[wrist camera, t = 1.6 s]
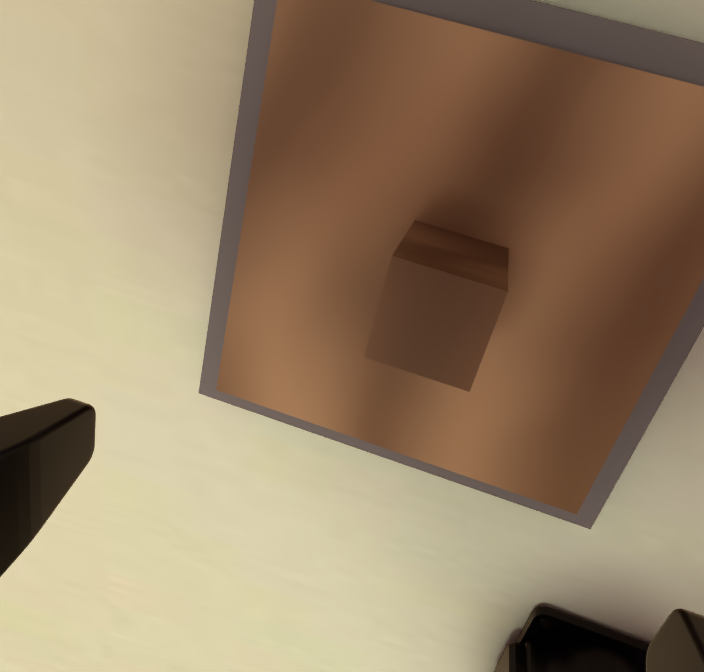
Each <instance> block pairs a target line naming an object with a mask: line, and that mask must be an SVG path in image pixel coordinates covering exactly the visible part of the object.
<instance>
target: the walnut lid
mask: <svg viewBox="0 0 704 672" xmlns="http://www.w3.org/2000/svg"><path fill="white" fill-rule="evenodd" d="M703 278H704V87H702V86H699V85H695V84H691V83H687V82H683V81H679V80H675V79H672V78H668V77H664V76H660V75H656V74H652V73H648V72H645V71H641V70H637V69H633V68H629V67H625V66H621V65H618V64H614V63H610V62H606V61H602V60H598V59H594V58H591V57H587V56H583V55H579V54H575V53H571V52H567V51H564V50H560V49H556V48H552V47H548V46H544V45H540V44H537V43H533V42H529V41H525V40H521V39H517V38H513V37H510V36H506V35H502V34H498V33H494V32H490V31H486V30H483V29H479V28H475V27H471V26H467V25H463V24H459V23H456V22H452V21H448V20H444V19H440V18H436V17H432V16H429V15H425V14H421V13H417V12H413V11H409V10H405V9H402V8H398V7H394V6H390V5H386V4H382V3H378V2H375V1H371V0H277V5H276V12H275V18H274V24H273V31H272V37H271V44H270V50H269V56H268V63H267V69H266V75H265V82H264V88H263V95H262V101H261V107H260V114H259V120H258V126H257V133H256V139H255V146H254V152H253V158H252V165H251V171H250V177H249V184H248V190H247V197H246V203H245V209H244V216H243V222H242V229H241V235H240V241H239V248H238V254H237V260H236V267H235V273H234V280H233V286H232V292H231V299H230V305H229V311H228V318H227V324H226V331H225V337H224V343H223V350H222V356H221V362H220V369H219V375H218V382H217V388H216V390H218V391H221V392H224V393H226V394H229V395H232V396H235V397H238V398H241V399H244V400H247V401H250V402H252V403H255V404H258V405H261V406H264V407H267V408H270V409H273V410H276V411H279V412H281V413H284V414H287V415H290V416H293V417H296V418H299V419H302V420H305V421H307V422H310V423H313V424H316V425H319V426H322V427H325V428H328V429H331V430H334V431H336V432H339V433H342V434H345V435H348V436H351V437H354V438H357V439H360V440H362V441H365V442H368V443H371V444H374V445H377V446H380V447H383V448H386V449H389V450H391V451H394V452H397V453H400V454H403V455H406V456H409V457H412V458H415V459H417V460H420V461H423V462H426V463H429V464H432V465H435V466H438V467H441V468H444V469H446V470H449V471H452V472H455V473H458V474H461V475H464V476H467V477H470V478H472V479H475V480H478V481H481V482H484V483H487V484H490V485H493V486H496V487H499V488H501V489H504V490H507V491H510V492H513V493H516V494H519V495H522V496H525V497H527V498H530V499H533V500H536V501H539V502H542V503H545V504H548V505H551V506H554V507H556V508H559V509H562V510H565V511H568V512H571V513H574V514H577V513H578V511H579V509H580V507H581V506H582V504H583V502H584V500H585V498H586V496H587V494H588V492H589V491H590V489H591V487H592V485H593V483H594V481H595V479H596V478H597V476H598V474H599V472H600V470H601V468H602V466H603V465H604V463H605V461H606V459H607V457H608V455H609V453H610V452H611V450H612V448H613V446H614V444H615V442H616V440H617V438H618V437H619V435H620V433H621V431H622V429H623V427H624V425H625V424H626V422H627V420H628V418H629V416H630V414H631V412H632V411H633V409H634V407H635V405H636V403H637V401H638V399H639V398H640V396H641V394H642V392H643V390H644V388H645V386H646V385H647V383H648V381H649V379H650V377H651V375H652V373H653V371H654V370H655V368H656V366H657V364H658V362H659V360H660V358H661V357H662V355H663V353H664V351H665V349H666V347H667V345H668V344H669V342H670V340H671V338H672V336H673V334H674V332H675V331H676V329H677V327H678V325H679V323H680V321H681V319H682V317H683V316H684V314H685V312H686V310H687V308H688V306H689V304H690V303H691V301H692V299H693V297H694V295H695V293H696V291H697V290H698V288H699V286H700V284H701V282H702V280H703Z"/></svg>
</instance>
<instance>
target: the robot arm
mask: <svg viewBox="0 0 704 672" xmlns="http://www.w3.org/2000/svg"><path fill="white" fill-rule="evenodd" d="M95 419H96V414H95V409H94V408H93V407H92V406H91V405H90V404H87V403H84V402H81V401H78V400H75V399H71V398H67V399H63V400H59V401H55V402H52V403H48V404H45V405H41V406H37V407H34V408H30V409H26V410H23V411H19V412H16V413H12V414H8V415H5V416H1V417H0V577H1V576H2V574H3V573H4V572H5V571H6V570H7V569H8V568H9V567H10V565H11V564H12V563H13V562H14V561H15V560H16V559H17V558H18V556H19V555H20V554H21V553H22V552H23V551H24V549H25V548H26V547H27V546H28V545H29V543H30V542H31V541H32V540H33V539H34V537H35V536H36V535H37V533H38V532H39V531H40V529H41V528H42V527H43V525H44V524H45V522H46V521H47V520H48V518H49V517H50V515H51V514H52V513H53V511H54V510H55V508H56V507H57V506H58V504H59V503H60V502H61V500H62V499H63V497H64V496H65V495H66V493H67V492H68V490H69V489H70V488H71V486H72V485H73V483H74V482H75V481H76V479H77V478H78V476H79V475H80V474H81V472H82V471H83V469H84V468H85V467H86V465H87V464H88V462H89V461H90V459H91V457H92V454H93V451H94V446H95ZM542 619H548V620H542ZM494 672H704V616H702V615H699V614H696V613H693V612H690V611H687V610H685V609H676V610H674V611H673V612H672V613H671V614H670V615H669V617H668V618H667V620H666V621H665V622H664V624H663V625H662V627H661V628H660V630H659V631H658V633H657V634H656V635H655V637H654V638H653V640H652V641H651V643H650V644H647V643H645V642H642V641H639V640H636V639H634V638H631V637H628V636H626V635H623V634H620V633H617V632H615V631H612V630H609V629H606V628H604V627H601V626H598V625H595V624H593V623H590V622H587V621H584V620H582V619H579V618H576V617H573V616H571V615H568V614H565V613H562V612H560V611H557V610H554V609H552V608H549V607H538V608H535V609H534V610H533V612H532V614H531V615H530V617H529V619H528V621H527V623H526V625H525V626H524V628H523V630H522V632H521V634H520V636H519V637H518V639H517V641H513V642H511V643H509V644H508V646H507V648H506V649H505V651H504V653H503V655H502V657H501V659H500V661H499V662H498V664H497V666H496V668H495V670H494Z"/></svg>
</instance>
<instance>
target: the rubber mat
mask: <svg viewBox="0 0 704 672" xmlns="http://www.w3.org/2000/svg"><path fill="white" fill-rule="evenodd" d="M371 1H375V2H378V3H382V4H386V5H390V6H394V7H398V8H402V9H405V10H409V11H413V12H417V13H421V14H425V15H429V16H432V17H436V18H440V19H444V20H448V21H452V22H456V23H459V24H463V25H467V26H471V27H475V28H479V29H483V30H486V31H490V32H494V33H498V34H502V35H506V36H510V37H513V38H517V39H521V40H525V41H529V42H533V43H537V44H540V45H544V46H548V47H552V48H556V49H560V50H564V51H567V52H571V53H575V54H579V55H583V56H587V57H591V58H594V59H598V60H602V61H606V62H610V63H614V64H618V65H621V66H625V67H629V68H633V69H637V70H641V71H645V72H648V73H652V74H656V75H660V76H664V77H668V78H672V79H675V80H679V81H683V82H687V83H691V84H695V85H699V86H702V87H704V43H700V42H696V41H692V40H688V39H684V38H680V37H676V36H672V35H668V34H664V33H660V32H656V31H652V30H648V29H644V28H640V27H636V26H632V25H628V24H624V23H620V22H616V21H612V20H608V19H604V18H600V17H596V16H592V15H588V14H584V13H580V12H576V11H572V10H568V9H564V8H560V7H556V6H552V5H548V4H544V3H540V2H537V1H533V0H371ZM276 5H277V0H254V7H253V14H252V21H251V28H250V35H249V42H248V49H247V56H246V63H245V71H244V78H243V85H242V92H241V99H240V106H239V113H238V120H237V127H236V134H235V141H234V148H233V155H232V162H231V169H230V176H229V183H228V191H227V198H226V205H225V212H224V219H223V226H222V233H221V240H220V247H219V254H218V261H217V268H216V275H215V282H214V289H213V296H212V303H211V311H210V318H209V325H208V332H207V339H206V346H205V353H204V360H203V367H202V374H201V381H200V388H199V393H200V394H203V395H206V396H208V397H211V398H214V399H217V400H220V401H223V402H226V403H229V404H231V405H234V406H237V407H240V408H243V409H246V410H249V411H252V412H254V413H257V414H260V415H263V416H266V417H269V418H272V419H275V420H278V421H280V422H283V423H286V424H289V425H292V426H295V427H298V428H301V429H303V430H306V431H309V432H312V433H315V434H318V435H321V436H324V437H326V438H329V439H332V440H335V441H338V442H341V443H344V444H347V445H350V446H352V447H355V448H358V449H361V450H364V451H367V452H370V453H373V454H375V455H378V456H381V457H384V458H387V459H390V460H393V461H396V462H398V463H401V464H404V465H407V466H410V467H413V468H416V469H419V470H421V471H424V472H427V473H430V474H433V475H436V476H439V477H442V478H445V479H447V480H450V481H453V482H456V483H459V484H462V485H465V486H468V487H470V488H473V489H476V490H479V491H482V492H485V493H488V494H491V495H493V496H496V497H499V498H502V499H505V500H508V501H511V502H514V503H517V504H519V505H522V506H525V507H528V508H531V509H534V510H537V511H540V512H542V513H545V514H548V515H551V516H554V517H557V518H560V519H563V520H565V521H568V522H571V523H574V524H577V525H580V526H583V527H586V528H588V529H591V527H592V525H593V524H594V522H595V520H596V518H597V517H598V515H599V513H600V511H601V509H602V508H603V506H604V504H605V502H606V500H607V499H608V497H609V495H610V493H611V491H612V490H613V488H614V486H615V484H616V483H617V481H618V479H619V477H620V475H621V474H622V472H623V470H624V468H625V466H626V465H627V463H628V461H629V459H630V458H631V456H632V454H633V452H634V450H635V449H636V447H637V445H638V443H639V441H640V440H641V438H642V436H643V434H644V432H645V431H646V429H647V427H648V425H649V424H650V422H651V420H652V418H653V416H654V415H655V413H656V411H657V409H658V407H659V406H660V404H661V402H662V400H663V399H664V397H665V395H666V393H667V391H668V390H669V388H670V386H671V384H672V382H673V381H674V379H675V377H676V375H677V373H678V372H679V370H680V368H681V366H682V365H683V363H684V361H685V359H686V357H687V356H688V354H689V352H690V350H691V348H692V347H693V345H694V343H695V341H696V339H697V338H698V336H699V334H700V332H701V331H702V329H703V327H704V278H703V280H702V282H701V284H700V286H699V288H698V290H697V291H696V293H695V295H694V297H693V299H692V301H691V303H690V304H689V306H688V308H687V310H686V312H685V314H684V316H683V317H682V319H681V321H680V323H679V325H678V327H677V329H676V331H675V332H674V334H673V336H672V338H671V340H670V342H669V344H668V345H667V347H666V349H665V351H664V353H663V355H662V357H661V358H660V360H659V362H658V364H657V366H656V368H655V370H654V371H653V373H652V375H651V377H650V379H649V381H648V383H647V385H646V386H645V388H644V390H643V392H642V394H641V396H640V398H639V399H638V401H637V403H636V405H635V407H634V409H633V411H632V412H631V414H630V416H629V418H628V420H627V422H626V424H625V425H624V427H623V429H622V431H621V433H620V435H619V437H618V438H617V440H616V442H615V444H614V446H613V448H612V450H611V452H610V453H609V455H608V457H607V459H606V461H605V463H604V465H603V466H602V468H601V470H600V472H599V474H598V476H597V478H596V479H595V481H594V483H593V485H592V487H591V489H590V491H589V492H588V494H587V496H586V498H585V500H584V502H583V504H582V506H581V507H580V509H579V511H578V513H577V514H574V513H571V512H568V511H565V510H562V509H559V508H556V507H554V506H551V505H548V504H545V503H542V502H539V501H536V500H533V499H530V498H527V497H525V496H522V495H519V494H516V493H513V492H510V491H507V490H504V489H501V488H499V487H496V486H493V485H490V484H487V483H484V482H481V481H478V480H475V479H472V478H470V477H467V476H464V475H461V474H458V473H455V472H452V471H449V470H446V469H444V468H441V467H438V466H435V465H432V464H429V463H426V462H423V461H420V460H417V459H415V458H412V457H409V456H406V455H403V454H400V453H397V452H394V451H391V450H389V449H386V448H383V447H380V446H377V445H374V444H371V443H368V442H365V441H362V440H360V439H357V438H354V437H351V436H348V435H345V434H342V433H339V432H336V431H334V430H331V429H328V428H325V427H322V426H319V425H316V424H313V423H310V422H307V421H305V420H302V419H299V418H296V417H293V416H290V415H287V414H284V413H281V412H279V411H276V410H273V409H270V408H267V407H264V406H261V405H258V404H255V403H252V402H250V401H247V400H244V399H241V398H238V397H235V396H232V395H229V394H226V393H224V392H221V391H218V390H216V388H217V382H218V375H219V369H220V362H221V356H222V350H223V343H224V337H225V331H226V324H227V318H228V311H229V305H230V299H231V292H232V286H233V280H234V273H235V267H236V260H237V254H238V248H239V241H240V235H241V229H242V222H243V216H244V209H245V203H246V197H247V190H248V184H249V177H250V171H251V165H252V158H253V152H254V146H255V139H256V133H257V126H258V120H259V114H260V107H261V101H262V95H263V88H264V82H265V75H266V69H267V63H268V56H269V50H270V44H271V37H272V31H273V24H274V18H275V12H276Z"/></svg>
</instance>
